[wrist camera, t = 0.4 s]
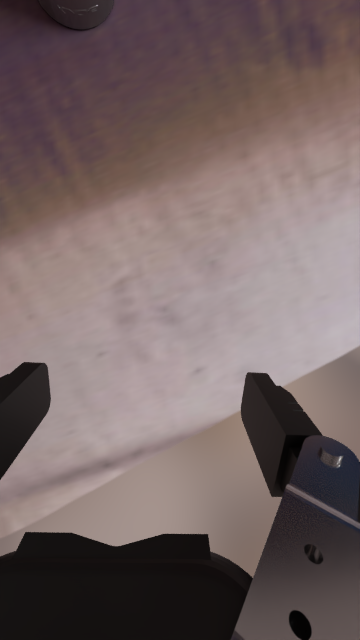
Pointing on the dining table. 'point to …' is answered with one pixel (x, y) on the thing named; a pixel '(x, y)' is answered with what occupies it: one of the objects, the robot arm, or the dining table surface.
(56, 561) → the robot arm
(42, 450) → the dining table surface
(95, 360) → the dining table surface
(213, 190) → the dining table surface
